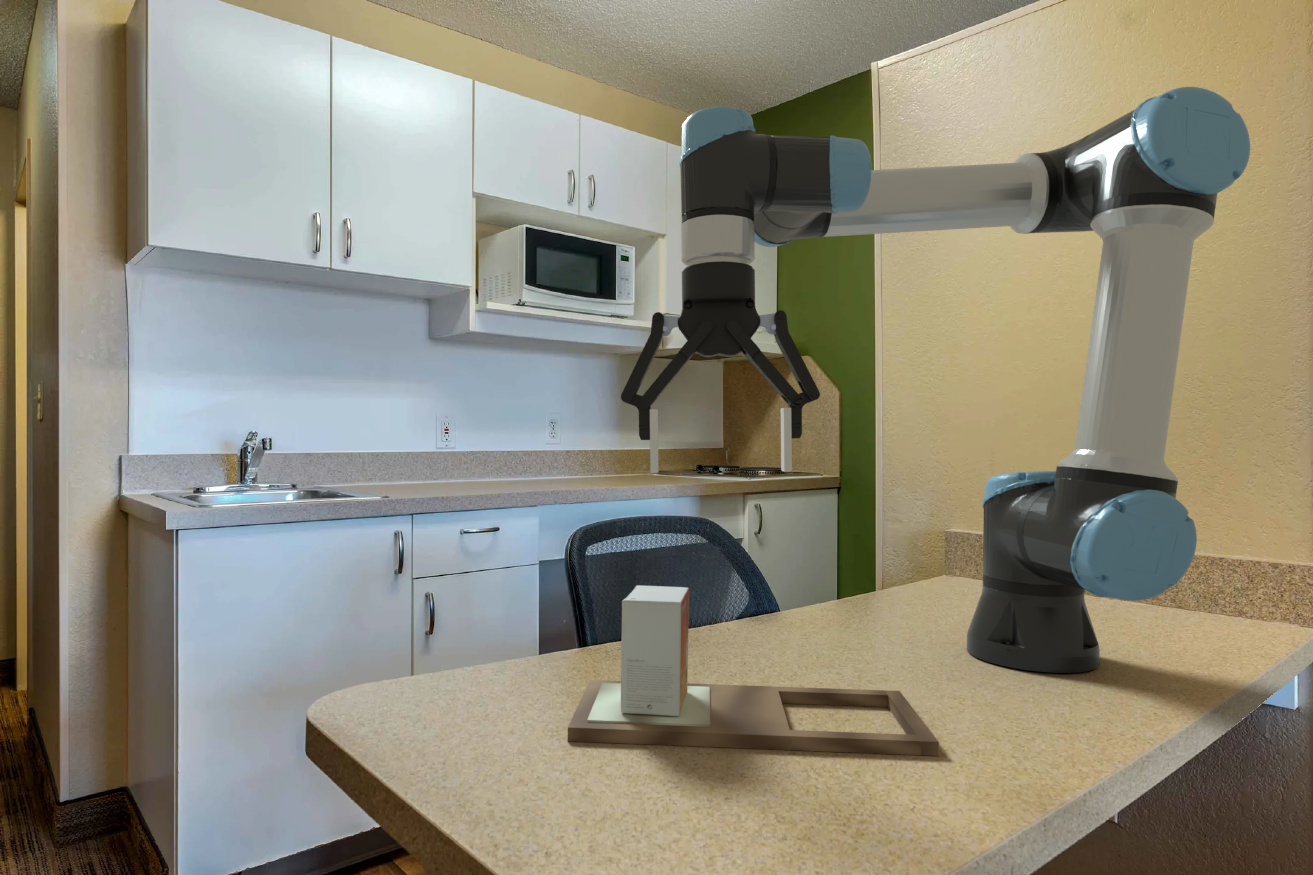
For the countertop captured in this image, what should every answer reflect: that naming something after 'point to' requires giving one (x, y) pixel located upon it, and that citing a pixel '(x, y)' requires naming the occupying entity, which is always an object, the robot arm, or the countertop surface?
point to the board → (746, 720)
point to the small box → (654, 650)
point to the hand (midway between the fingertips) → (720, 472)
